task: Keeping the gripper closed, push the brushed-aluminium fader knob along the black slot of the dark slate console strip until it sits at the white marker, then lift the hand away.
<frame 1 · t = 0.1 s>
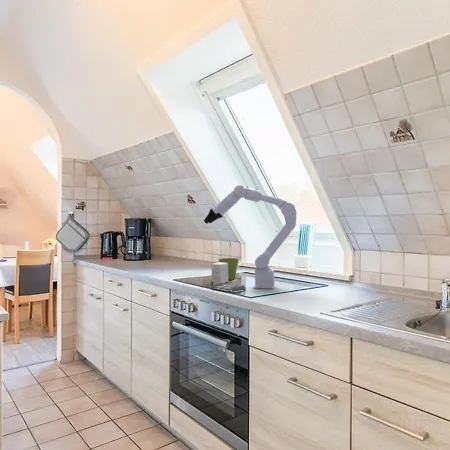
hand: (206, 222, 208), 32 cm above the cooktop, tool tilted 50°, fingers open, 7 cm apart
fader knob: (235, 283, 195), point 4 cm above the cooktop, slide at 0.0 cm
small box: (220, 283, 216), on the cooktop
console strip: (228, 290, 197), on the cooktop
plant pot: (228, 279, 230), on the cooktop
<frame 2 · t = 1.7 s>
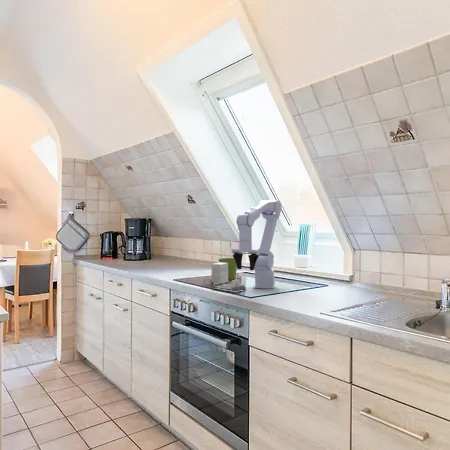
hand: (245, 269, 191), 10 cm above the cooktop, tool pointing down, fingers open, 6 cm apart
nothing on the cooktop moved.
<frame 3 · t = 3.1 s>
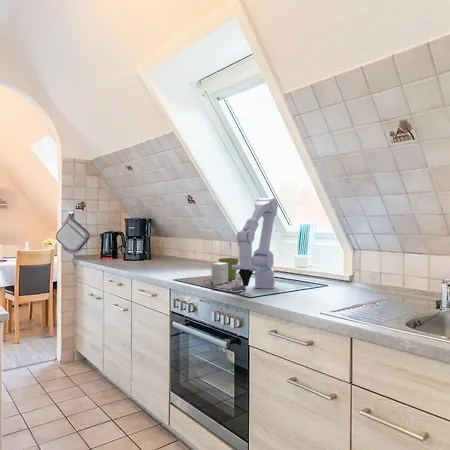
hand: (245, 286, 191), 3 cm above the cooktop, tool pointing down, fingers closed
nothing on the cooktop moved.
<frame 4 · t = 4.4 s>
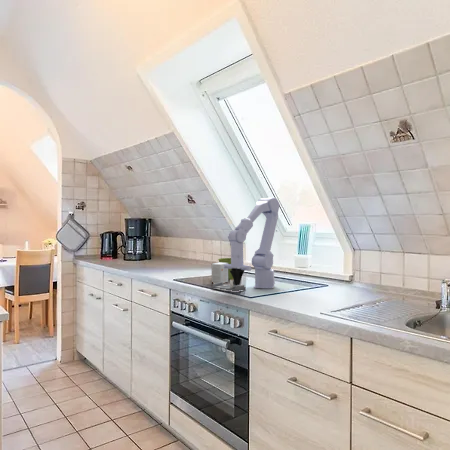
hand: (237, 285, 194), 3 cm above the cooktop, tool pointing down, fingers closed
fader knob: (233, 283, 195), point 4 cm above the cooktop, slide at 1.2 cm, touching gripper
everything else where it was.
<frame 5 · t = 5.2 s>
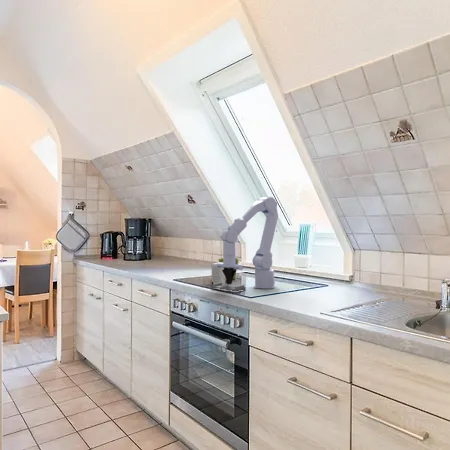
hand: (229, 284, 197), 3 cm above the cooktop, tool pointing down, fingers closed
fader knob: (225, 282, 198), point 4 cm above the cooktop, slide at 5.8 cm, touching gripper
everything else where it was.
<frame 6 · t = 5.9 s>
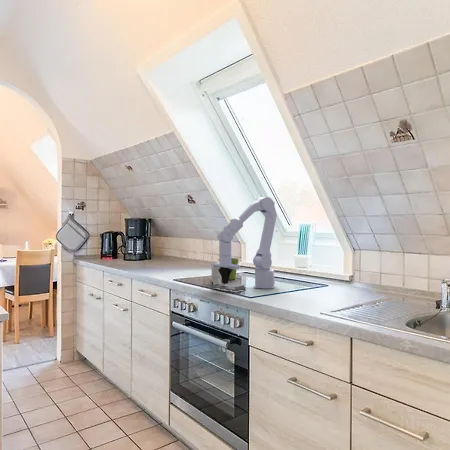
hand: (225, 283, 198), 3 cm above the cooktop, tool pointing down, fingers closed
fader knob: (221, 281, 200), point 4 cm above the cooktop, slide at 8.2 cm, touching gripper
everything else where it was.
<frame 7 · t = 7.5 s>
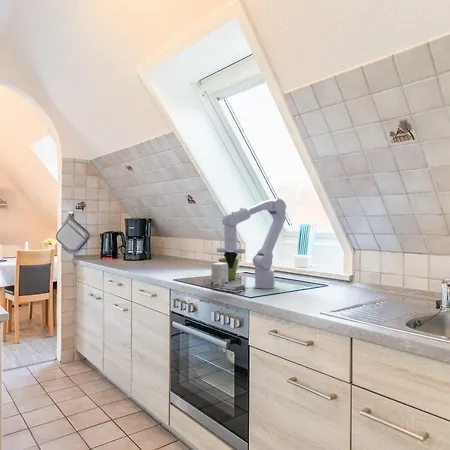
hand: (230, 268, 198), 10 cm above the cooktop, tool pointing down, fingers closed
fader knob: (221, 281, 200), point 4 cm above the cooktop, slide at 8.3 cm
everything else where it was.
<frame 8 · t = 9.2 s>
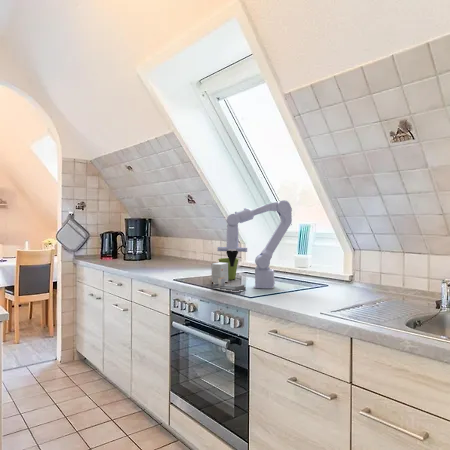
hand: (232, 266, 204), 10 cm above the cooktop, tool pointing down, fingers closed
nothing on the cooktop moved.
at the end: fader knob slide at 8.3 cm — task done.
